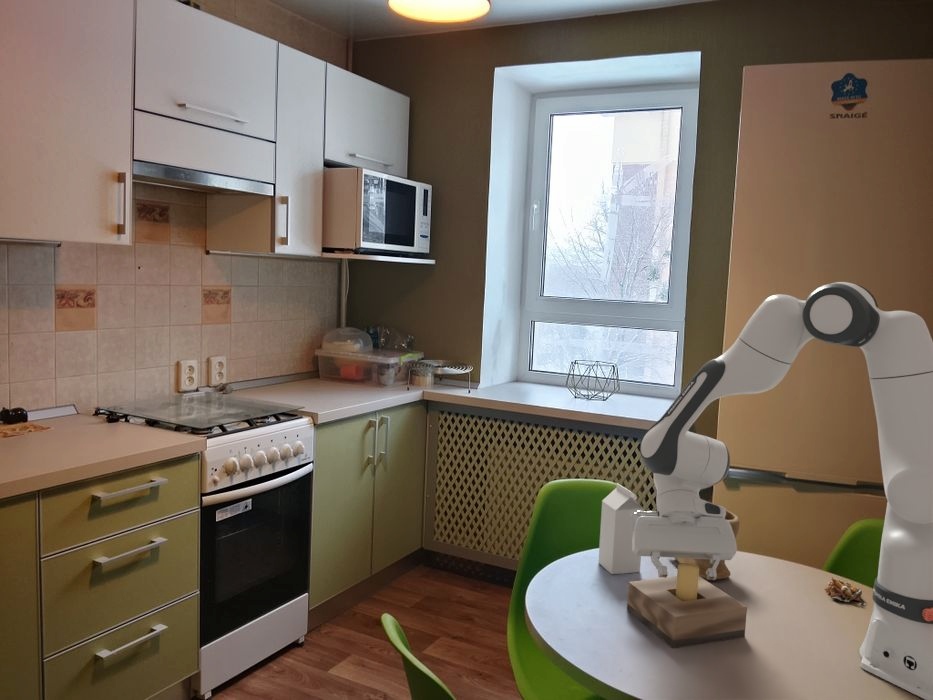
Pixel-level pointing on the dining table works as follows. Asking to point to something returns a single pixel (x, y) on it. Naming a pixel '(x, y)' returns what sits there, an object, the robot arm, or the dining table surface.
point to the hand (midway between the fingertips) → (687, 577)
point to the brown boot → (705, 563)
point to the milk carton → (618, 532)
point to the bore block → (686, 612)
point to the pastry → (844, 591)
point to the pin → (687, 581)
